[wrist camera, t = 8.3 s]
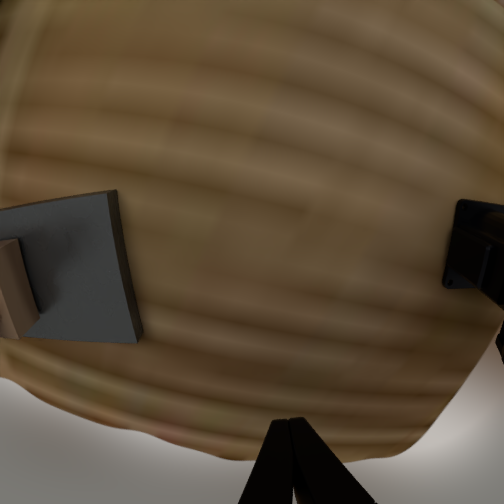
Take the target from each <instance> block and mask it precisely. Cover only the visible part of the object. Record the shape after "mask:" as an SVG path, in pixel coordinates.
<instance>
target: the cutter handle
mask: <svg viewBox="0 0 504 504" xmlns="http://www.w3.org/2000/svg"><path fill="white" fill-rule="evenodd" d="M39 319H40V316H39V313H38V310H37V307H36V304H35V301H34V298H33V295H32V291H31V288H30V285H29V281H28V278H27V274H26V271H25V267H24V263H23V259H22V255H21V251H20V247H19V243H18V239H10V240H2V241H0V337H3V338H10V339H18V340H19V339H20V338H21V337H22V336H23V335H24V334H25V333H26V332H27V331H28V330H29V329H30V328H31V327H32V326H33V325H34V324H35V323H36V322H37V321H38V320H39Z"/></svg>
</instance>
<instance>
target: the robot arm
mask: <svg viewBox="0 0 504 504" xmlns="http://www.w3.org/2000/svg"><path fill="white" fill-rule="evenodd" d="M464 204H465V207H464V209H463V205H464ZM449 280H450V282H449V283H448V281H449ZM442 284H443V285H444V286H445V287H446V288H447V289H458V288H477V289H478V290H479V291H481V292H482V293H483V294H484V295H486V296H487V297H488V298H489V299H491V300H492V301H493V302H494V303H496V304H497V305H498V306H499V307H500V308H502V309H503V310H504V205H500V204H494V203H488V202H482V201H475V200H468V199H460V200H459V201H458V203H457V207H456V214H455V220H454V226H453V231H452V237H451V242H450V247H449V252H448V257H447V262H446V267H445V271H444V276H443V280H442ZM495 343H496V345H497V348H498V350H499V352H500V355H501V357H502V361H503V364H504V321H503V324H502V327H501V330H500V333H499V334H498V335H497V338H496V342H495ZM293 489H294V493H295V498H296V501H297V504H377V503H375V501H374V499H373V498H372V497H371V496H370V495H369V494H368V493H367V491H366V490H365V489H364V488H363V487H362V486H361V485H360V483H359V482H358V481H357V480H356V479H355V478H354V477H353V476H352V474H351V473H350V472H349V471H348V470H347V468H345V466H344V465H343V464H342V463H341V461H340V460H339V459H338V458H337V457H336V456H335V454H334V453H333V452H332V451H331V450H330V448H329V447H328V446H327V445H326V444H325V442H324V441H323V440H322V439H321V438H320V436H319V435H318V434H317V433H316V431H315V430H314V429H313V428H312V427H311V425H310V424H309V423H308V422H307V420H306V419H305V418H304V417H296V418H290V419H288V420H287V419H276V420H272V422H271V424H270V426H269V429H268V432H267V434H266V437H265V439H264V442H263V445H262V447H261V450H260V452H259V455H258V457H257V460H256V462H255V465H254V467H253V469H252V472H251V474H250V476H249V479H248V481H247V484H246V486H245V488H244V491H243V493H242V495H241V498H240V500H239V502H238V504H292V499H293Z"/></svg>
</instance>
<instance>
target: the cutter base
mask: <svg viewBox="0 0 504 504" xmlns="http://www.w3.org/2000/svg"><path fill="white" fill-rule="evenodd" d="M10 239H18V243H19V247H20V251H21V255H22V259H23V263H24V267H25V271H26V274H27V278H28V281H29V285H30V288H31V291H32V295H33V298H34V301H35V304H36V307H37V310H38V313H39V316H40V319H39V320H38V321H37V322H36V323H35V324H34V325H33V326H32V327H31V328H30V329H29V330H28V331H27V332H26V333H25V334H24V335H23V336H25V337H36V338H47V339H59V340H73V341H89V342H111V343H138V341H139V339H140V337H141V335H142V333H143V328H142V324H141V320H140V316H139V312H138V307H137V303H136V299H135V294H134V290H133V285H132V280H131V275H130V270H129V265H128V260H127V255H126V249H125V243H124V238H123V232H122V225H121V219H120V212H119V205H118V198H117V191H116V189H115V190H108V191H100V192H93V193H87V194H80V195H74V196H68V197H61V198H56V199H50V200H44V201H39V202H33V203H28V204H23V205H17V206H12V207H8V208H3V209H0V241H2V240H10Z"/></svg>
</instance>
